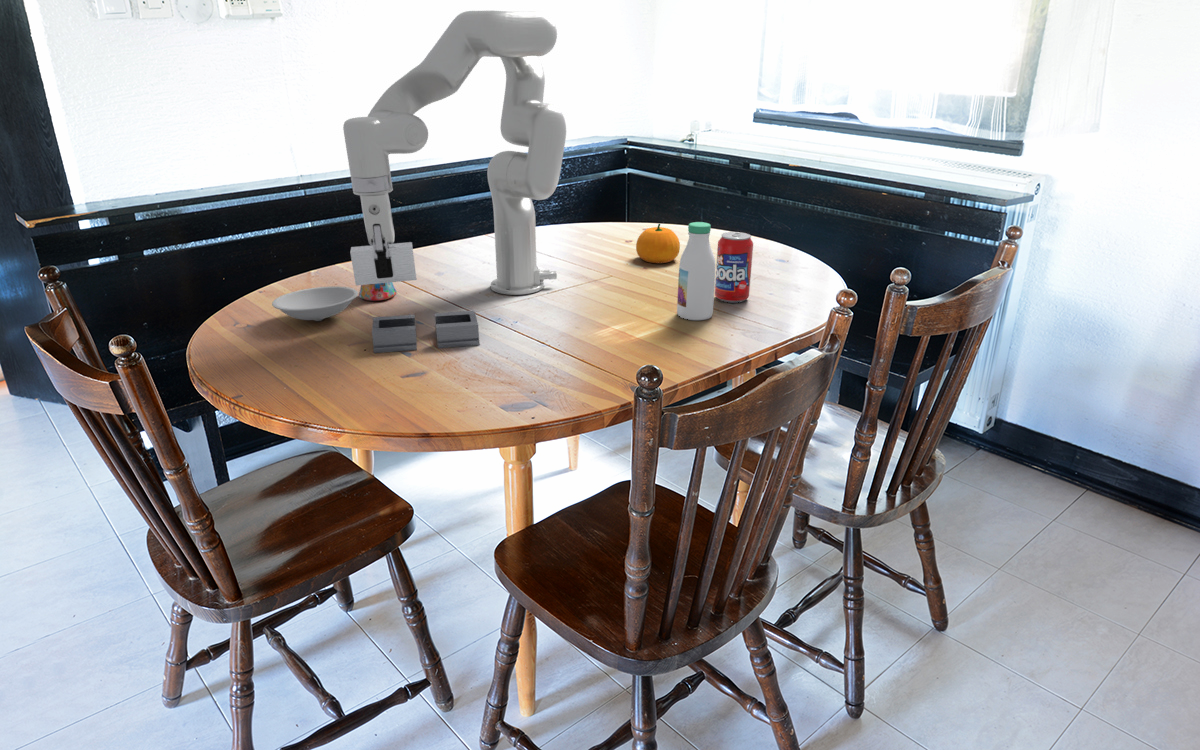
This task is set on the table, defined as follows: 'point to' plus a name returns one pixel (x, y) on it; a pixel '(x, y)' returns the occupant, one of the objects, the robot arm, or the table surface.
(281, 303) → the dish
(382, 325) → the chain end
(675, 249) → the fruit
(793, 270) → the table surface
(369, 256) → the gray trapezoid plate
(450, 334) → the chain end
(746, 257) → the soda can
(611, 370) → the table surface
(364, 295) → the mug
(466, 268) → the table surface
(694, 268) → the milk bottle
